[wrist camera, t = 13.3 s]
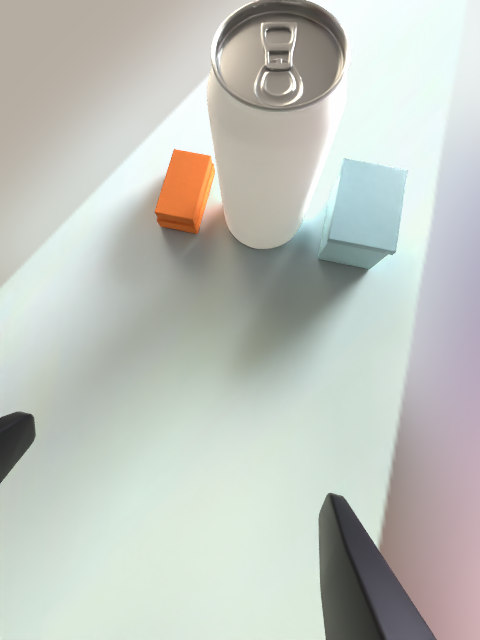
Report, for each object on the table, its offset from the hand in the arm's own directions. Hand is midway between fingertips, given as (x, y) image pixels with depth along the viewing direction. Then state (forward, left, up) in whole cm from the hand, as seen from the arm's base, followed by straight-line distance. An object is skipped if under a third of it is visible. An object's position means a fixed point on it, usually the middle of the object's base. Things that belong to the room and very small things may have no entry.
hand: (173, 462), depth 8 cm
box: (+15, -9, -12) cm, 21 cm away
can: (+16, -2, -13) cm, 20 cm away
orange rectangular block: (+17, +4, -12) cm, 21 cm away
